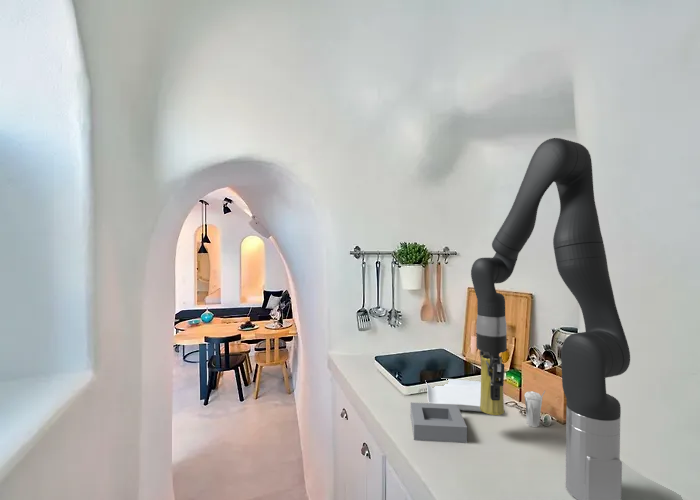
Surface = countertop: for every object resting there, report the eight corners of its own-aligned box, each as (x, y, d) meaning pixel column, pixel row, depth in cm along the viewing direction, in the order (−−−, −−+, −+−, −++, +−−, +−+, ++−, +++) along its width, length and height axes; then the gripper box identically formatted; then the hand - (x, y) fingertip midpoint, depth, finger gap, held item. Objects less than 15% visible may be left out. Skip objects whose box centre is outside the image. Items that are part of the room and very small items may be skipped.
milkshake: (547, 429, 102) (547, 393, 101) (526, 427, 103) (527, 392, 103) (542, 421, 106) (542, 387, 106) (522, 419, 107) (522, 385, 107)
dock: (466, 442, 95) (467, 427, 95) (414, 439, 96) (414, 424, 96) (456, 418, 108) (457, 404, 108) (410, 415, 109) (410, 402, 109)
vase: (489, 416, 94) (488, 361, 94) (475, 407, 100) (474, 354, 100) (509, 413, 96) (508, 359, 96) (494, 404, 102) (493, 353, 102)
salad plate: (501, 418, 109) (501, 406, 109) (427, 412, 112) (427, 401, 112) (486, 390, 130) (486, 380, 130) (425, 386, 133) (425, 377, 133)
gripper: (515, 338, 91) (515, 407, 91) (497, 326, 105) (497, 385, 105) (484, 338, 91) (484, 406, 91) (470, 326, 106) (470, 385, 106)
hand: (491, 395), depth 98 cm, fingers closed on vase, 5 cm apart
